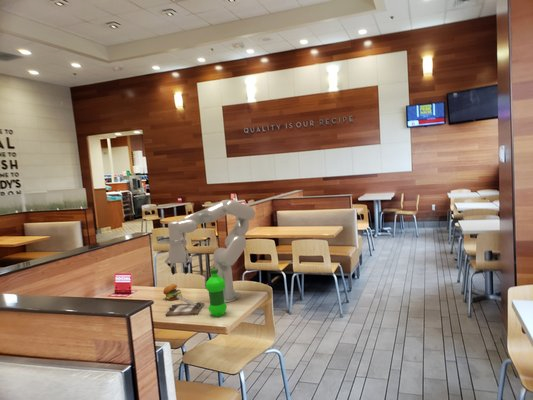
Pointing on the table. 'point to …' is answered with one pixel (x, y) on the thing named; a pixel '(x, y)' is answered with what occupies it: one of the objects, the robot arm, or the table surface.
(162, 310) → the table surface
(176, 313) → the ticket board
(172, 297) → the cheeseburger
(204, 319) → the table surface
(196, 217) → the robot arm
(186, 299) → the hold down bar
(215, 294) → the plastic bottle
